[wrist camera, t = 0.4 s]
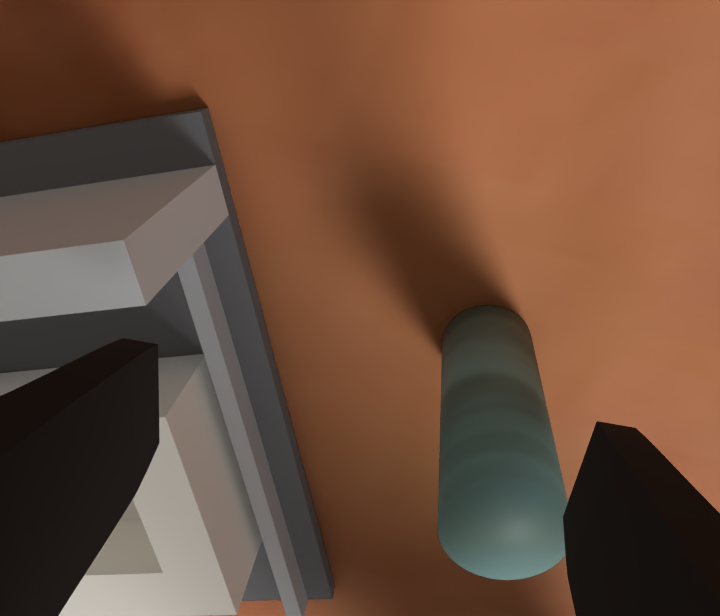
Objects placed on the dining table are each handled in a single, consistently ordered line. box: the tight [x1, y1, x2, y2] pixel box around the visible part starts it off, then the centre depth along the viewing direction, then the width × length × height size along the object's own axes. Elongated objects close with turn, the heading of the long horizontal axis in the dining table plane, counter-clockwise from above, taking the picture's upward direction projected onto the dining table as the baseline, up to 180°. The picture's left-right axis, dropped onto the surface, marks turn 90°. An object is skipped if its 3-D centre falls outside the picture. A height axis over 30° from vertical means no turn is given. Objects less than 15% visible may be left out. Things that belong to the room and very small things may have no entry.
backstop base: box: [0, 107, 335, 616], centre depth 21 cm, size 19×12×7 cm, turn 10°
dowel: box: [438, 305, 568, 580], centre depth 18 cm, size 3×3×8 cm
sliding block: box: [0, 354, 262, 616], centre depth 23 cm, size 8×8×4 cm
